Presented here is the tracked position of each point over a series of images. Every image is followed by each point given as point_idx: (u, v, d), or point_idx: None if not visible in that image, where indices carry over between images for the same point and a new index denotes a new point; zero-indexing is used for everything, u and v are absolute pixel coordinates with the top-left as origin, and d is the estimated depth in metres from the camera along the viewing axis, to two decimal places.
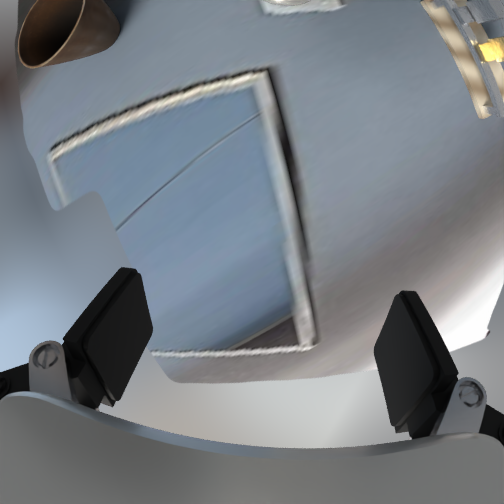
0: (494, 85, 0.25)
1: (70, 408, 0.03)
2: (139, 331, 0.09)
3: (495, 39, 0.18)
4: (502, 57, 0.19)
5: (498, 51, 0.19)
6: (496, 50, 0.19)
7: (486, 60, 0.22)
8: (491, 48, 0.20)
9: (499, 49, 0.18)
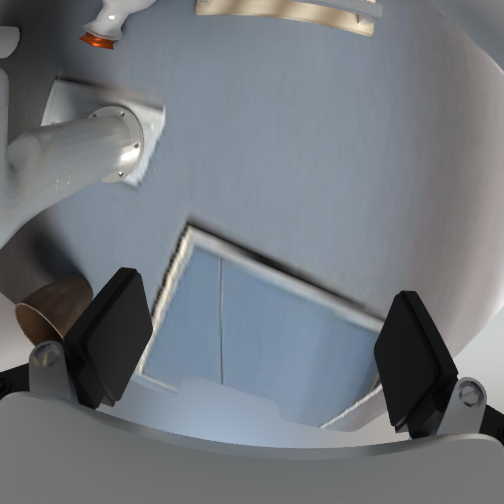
0: None
1: (70, 408, 0.03)
2: (139, 331, 0.09)
3: None
4: None
5: None
6: None
7: None
8: None
9: None
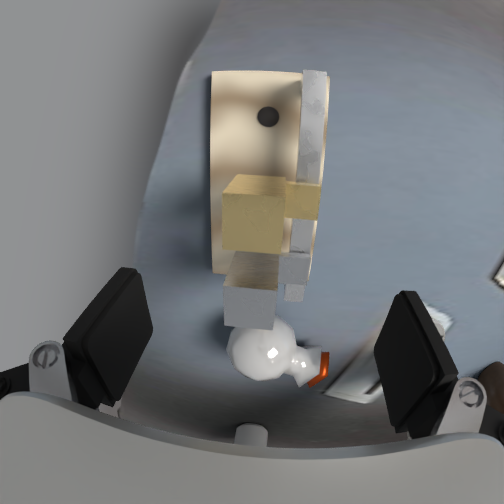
0: (311, 132, 0.22)
1: (70, 408, 0.03)
2: (139, 331, 0.09)
3: None
4: None
5: None
6: None
7: (319, 189, 0.22)
8: None
9: None
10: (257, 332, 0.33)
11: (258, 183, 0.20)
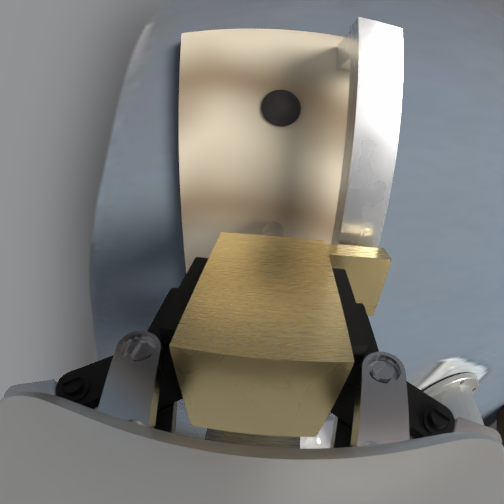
0: (374, 143, 0.10)
1: (70, 408, 0.03)
2: None
3: None
4: None
5: None
6: None
7: (387, 263, 0.11)
8: None
9: None
10: None
11: (270, 277, 0.08)
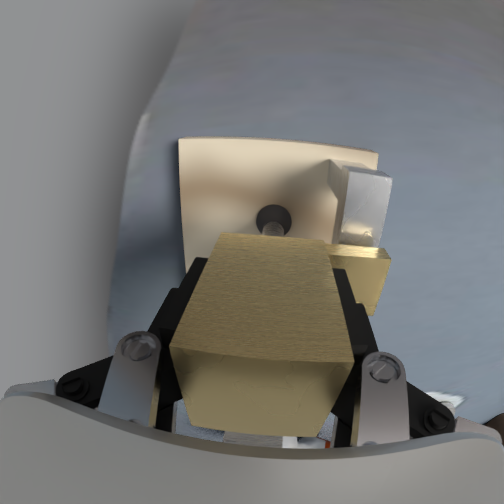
0: None
1: (70, 408, 0.03)
2: None
3: None
4: None
5: None
6: None
7: (387, 263, 0.11)
8: None
9: None
10: None
11: (270, 277, 0.08)
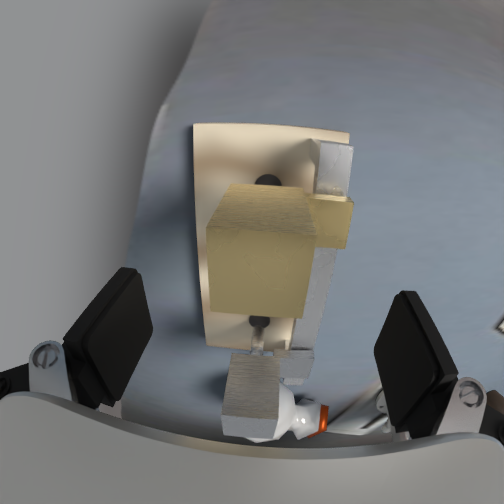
0: None
1: (70, 408, 0.03)
2: (139, 331, 0.09)
3: None
4: None
5: None
6: None
7: (351, 206, 0.15)
8: None
9: None
10: None
11: (265, 202, 0.13)
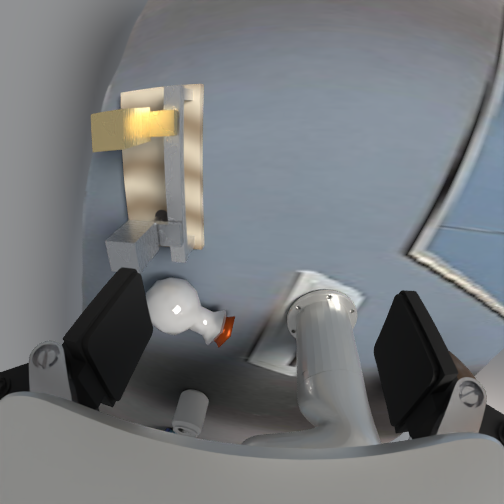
0: None
1: (70, 408, 0.03)
2: (139, 331, 0.09)
3: (140, 142, 0.26)
4: (142, 113, 0.25)
5: (143, 123, 0.26)
6: (145, 124, 0.26)
7: (173, 111, 0.26)
8: (149, 127, 0.27)
9: (141, 126, 0.25)
10: (161, 290, 0.40)
11: None
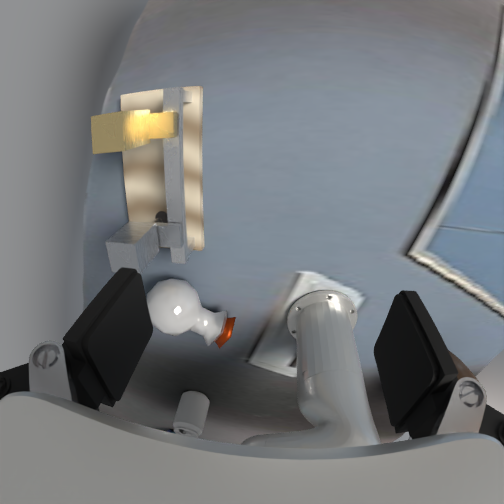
0: None
1: (70, 408, 0.03)
2: (139, 331, 0.09)
3: (140, 144, 0.26)
4: (141, 115, 0.25)
5: (143, 125, 0.26)
6: (145, 126, 0.26)
7: (172, 113, 0.27)
8: (149, 129, 0.28)
9: (141, 128, 0.26)
10: (162, 291, 0.41)
11: None
